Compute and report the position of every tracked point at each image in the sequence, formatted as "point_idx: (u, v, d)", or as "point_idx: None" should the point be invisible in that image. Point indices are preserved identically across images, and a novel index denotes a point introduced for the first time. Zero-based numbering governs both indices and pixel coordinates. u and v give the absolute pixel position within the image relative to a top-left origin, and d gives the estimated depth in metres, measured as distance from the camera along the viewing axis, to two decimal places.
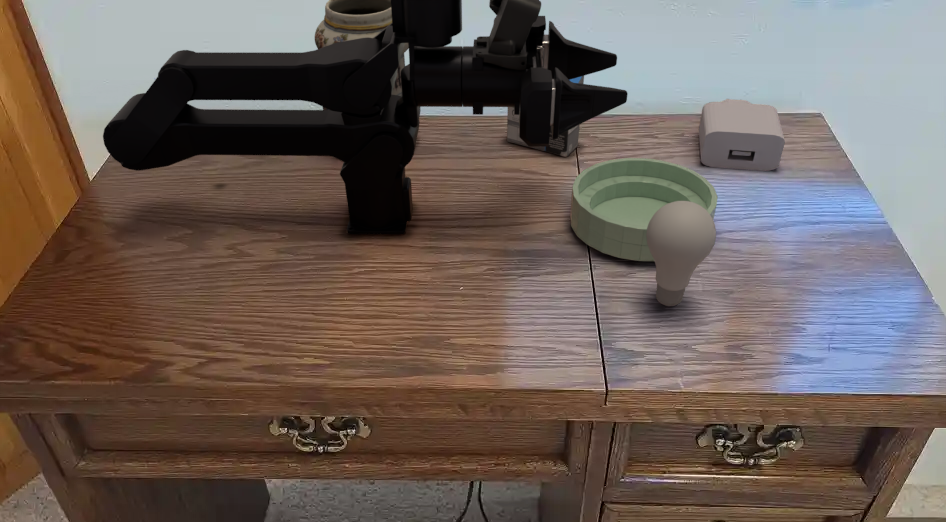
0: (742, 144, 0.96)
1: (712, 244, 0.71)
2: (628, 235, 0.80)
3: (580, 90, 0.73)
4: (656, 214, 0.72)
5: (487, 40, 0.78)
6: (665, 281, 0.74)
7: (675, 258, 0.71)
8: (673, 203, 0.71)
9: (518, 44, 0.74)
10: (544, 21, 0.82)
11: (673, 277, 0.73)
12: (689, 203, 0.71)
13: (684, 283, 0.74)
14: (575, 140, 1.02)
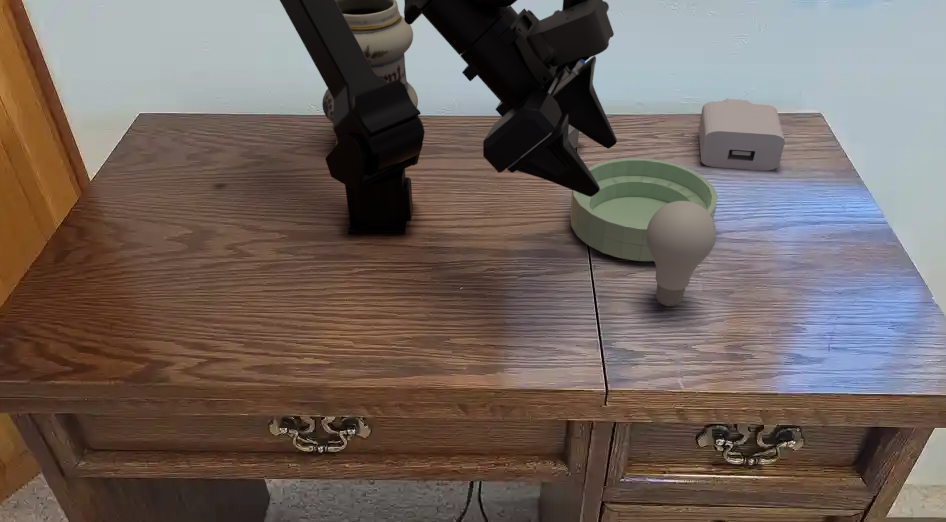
0: (742, 144, 0.96)
1: (712, 244, 0.71)
2: (628, 235, 0.80)
3: (567, 153, 0.64)
4: (656, 214, 0.72)
5: (534, 23, 0.66)
6: (665, 281, 0.74)
7: (675, 258, 0.71)
8: (673, 203, 0.71)
9: (556, 59, 0.63)
10: None
11: (673, 277, 0.73)
12: (689, 203, 0.71)
13: (684, 283, 0.74)
14: (575, 140, 1.02)
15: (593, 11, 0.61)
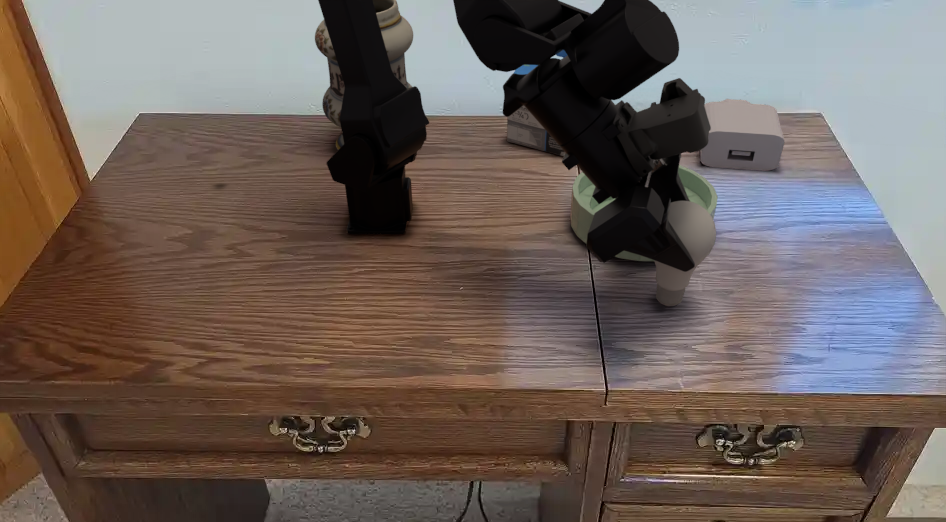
0: (741, 144, 0.96)
1: (712, 244, 0.71)
2: None
3: (668, 234, 0.67)
4: None
5: (632, 115, 0.68)
6: (665, 281, 0.74)
7: None
8: (673, 203, 0.71)
9: (657, 153, 0.66)
10: None
11: (673, 277, 0.73)
12: (689, 203, 0.71)
13: (684, 283, 0.74)
14: None
15: (696, 111, 0.63)
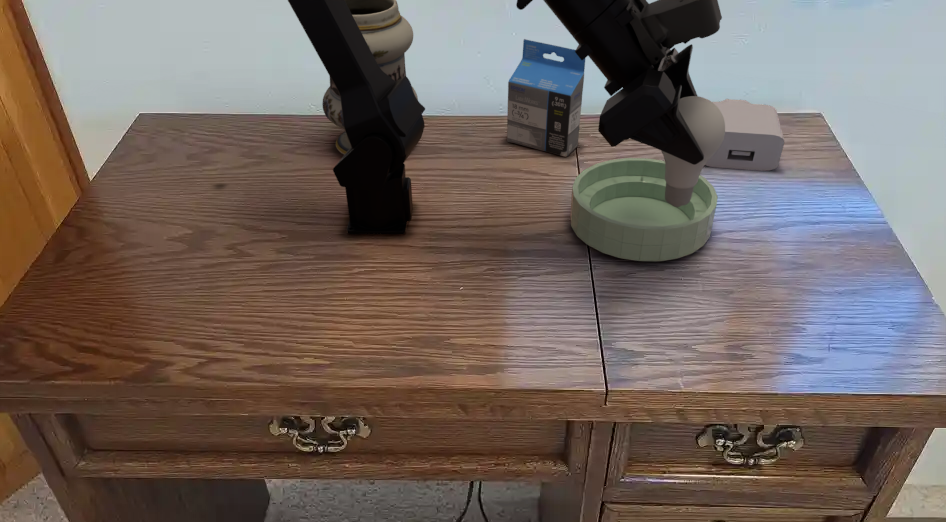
0: (741, 144, 0.96)
1: (721, 138, 0.72)
2: (628, 235, 0.80)
3: (679, 122, 0.69)
4: None
5: (645, 5, 0.69)
6: (674, 178, 0.75)
7: None
8: (683, 98, 0.72)
9: (669, 40, 0.67)
10: None
11: (682, 173, 0.75)
12: (699, 97, 0.72)
13: (693, 181, 0.75)
14: (575, 140, 1.02)
15: None
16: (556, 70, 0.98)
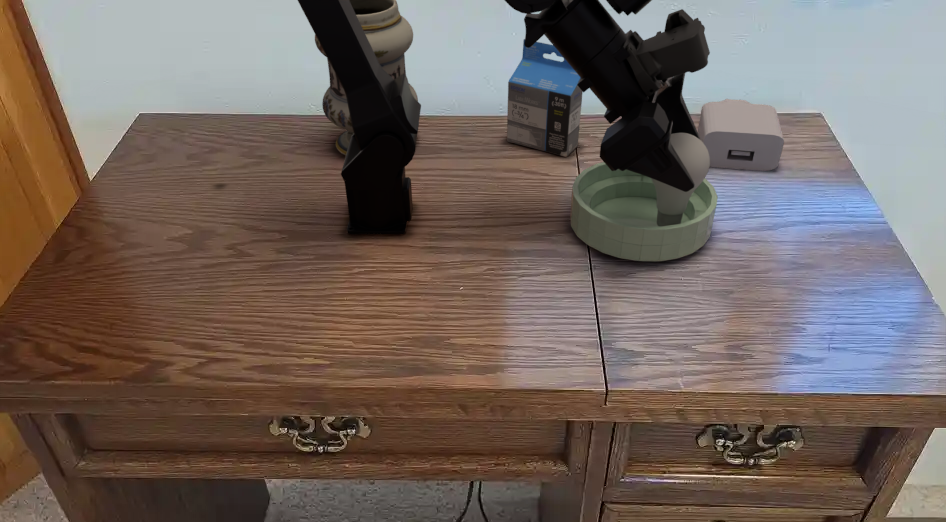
0: (741, 144, 0.96)
1: (706, 170, 0.80)
2: (628, 235, 0.80)
3: (671, 154, 0.75)
4: None
5: (640, 42, 0.76)
6: (665, 206, 0.83)
7: None
8: (672, 134, 0.80)
9: (662, 74, 0.74)
10: None
11: (672, 202, 0.82)
12: (686, 134, 0.80)
13: (681, 208, 0.83)
14: (575, 140, 1.02)
15: (697, 34, 0.72)
16: (556, 70, 0.98)
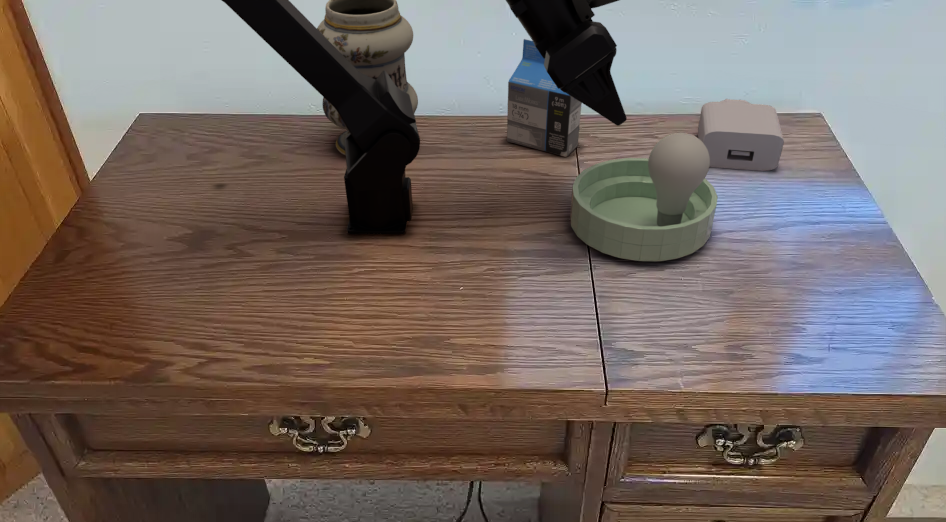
0: (741, 144, 0.96)
1: (706, 170, 0.80)
2: (628, 235, 0.80)
3: (611, 79, 0.74)
4: (657, 144, 0.81)
5: None
6: (665, 206, 0.83)
7: (673, 183, 0.80)
8: (672, 134, 0.80)
9: (598, 0, 0.74)
10: None
11: (672, 202, 0.82)
12: (686, 134, 0.80)
13: (681, 208, 0.83)
14: (575, 140, 1.02)
15: None
16: None
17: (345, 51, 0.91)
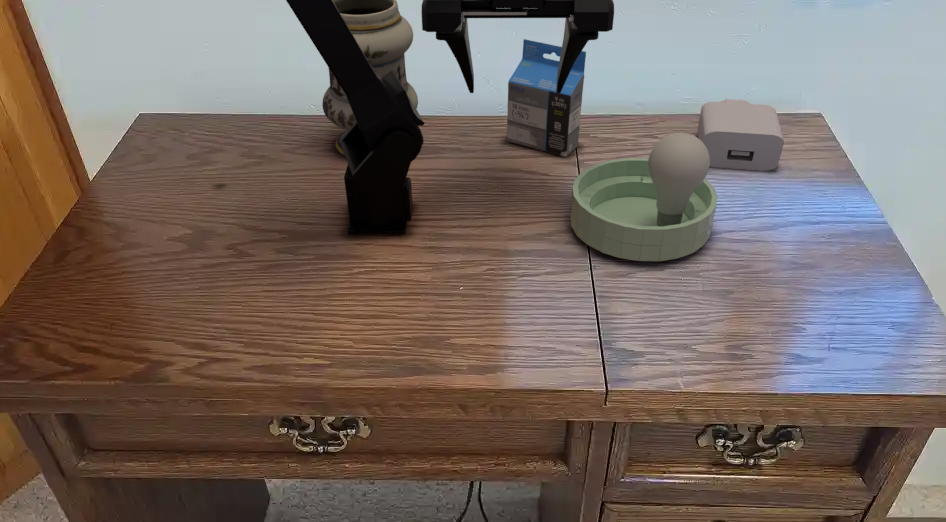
0: (741, 144, 0.96)
1: (706, 170, 0.80)
2: (628, 235, 0.80)
3: None
4: (657, 144, 0.81)
5: None
6: (665, 206, 0.83)
7: (673, 183, 0.80)
8: (672, 134, 0.80)
9: None
10: None
11: (672, 202, 0.82)
12: (686, 134, 0.80)
13: (681, 208, 0.83)
14: (575, 140, 1.02)
15: None
16: (556, 70, 0.98)
17: None
